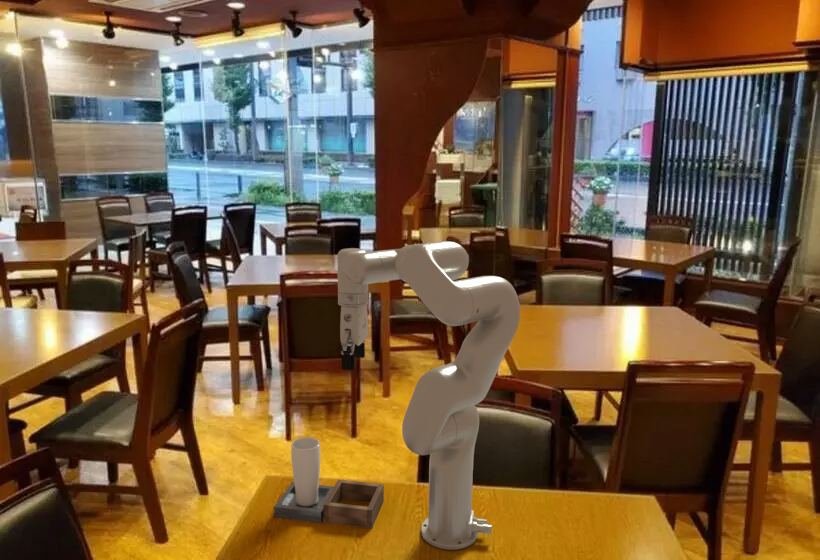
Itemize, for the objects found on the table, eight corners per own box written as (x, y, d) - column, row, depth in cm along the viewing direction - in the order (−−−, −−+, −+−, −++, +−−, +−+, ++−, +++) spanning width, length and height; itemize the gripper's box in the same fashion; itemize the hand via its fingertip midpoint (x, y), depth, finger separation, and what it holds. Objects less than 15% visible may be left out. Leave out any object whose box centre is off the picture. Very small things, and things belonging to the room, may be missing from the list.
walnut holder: (383, 501, 149) (383, 484, 149) (372, 528, 138) (372, 510, 138) (338, 496, 152) (338, 479, 151) (323, 522, 141) (323, 504, 140)
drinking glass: (286, 504, 146) (284, 446, 143) (304, 491, 152) (302, 434, 149) (310, 512, 143) (308, 452, 140) (327, 498, 149) (325, 440, 146)
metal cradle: (336, 495, 152) (336, 486, 151) (320, 523, 140) (320, 513, 140) (292, 490, 154) (292, 481, 154) (273, 517, 142) (273, 507, 142)
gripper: (358, 306, 145) (358, 375, 148) (375, 291, 162) (375, 353, 165) (327, 305, 146) (329, 373, 150) (348, 290, 163) (348, 352, 166)
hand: (353, 363), depth 157 cm, fingers open, 9 cm apart
